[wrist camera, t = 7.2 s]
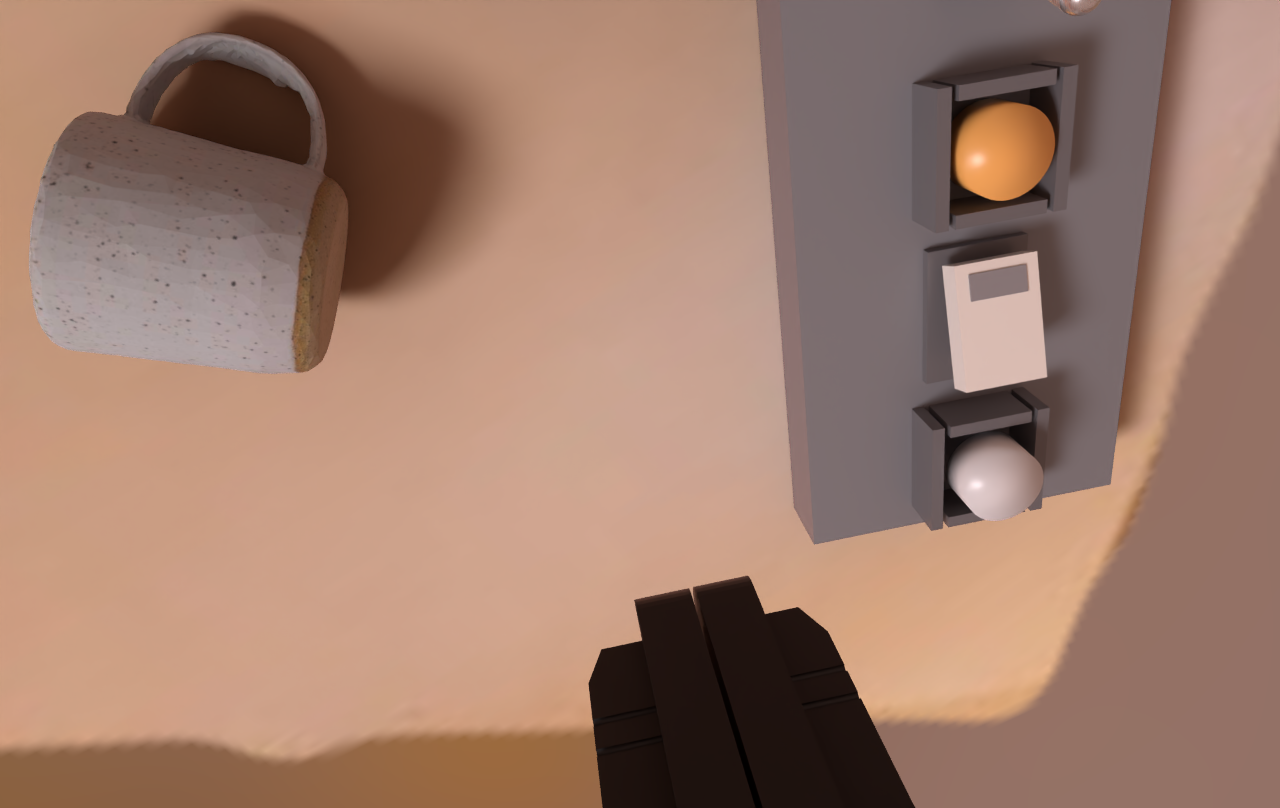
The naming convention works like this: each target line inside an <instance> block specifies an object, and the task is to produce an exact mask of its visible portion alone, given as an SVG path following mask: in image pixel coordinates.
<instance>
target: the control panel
mask: <svg viewBox="0 0 1280 808" xmlns="http://www.w3.org/2000/svg"><path fill="white" fill-rule="evenodd" d="M1170 8H1171V0H1101V2H1100V3H1099V5H1098V6H1097V7H1096V8H1095V9H1094V10H1092V11H1091V12H1089V13H1087V14H1085V15H1082V16H1071V15H1068V14H1066V13H1064V12H1063V11H1061V10H1060V9H1059V8H1058V7H1056V6H1055V5H1054V4H1052V3H1051V2H1050V1H1048V0H757V13H758V26H759V40H760V53H761V66H762V80H763V93H764V107H765V120H766V134H767V147H768V161H769V174H770V188H771V201H772V214H773V228H774V241H775V255H776V268H777V282H778V295H779V309H780V322H781V336H782V349H783V362H784V376H785V389H786V403H787V416H788V430H789V443H790V457H791V470H792V484H793V497H794V509H795V510H796V512H797V514H798V516H799V518H800V520H801V521H802V523H803V525H804V527H805V529H806V531H807V532H808V534H809V536H810V538H811V540H812V542H813V543H814V544H819V543H824V542H829V541H834V540H839V539H843V538H848V537H853V536H858V535H863V534H868V533H873V532H878V531H883V530H888V529H893V528H898V527H903V526H907V525H912V524H917V523H922V522H925V523H926V524H927V526H928V527H929V528H930V530H931V531H933V530H938V529H942V528H943V521H944V523H945V524H946V525H947V526H948V527H952V526H957V525H962V524H967V523H972V522H977V521H982V520H985V519H982V518H980V517H978V516H977V515H975V514H974V513H973V512H972V511H971V509H970V508H969V507H968V506H967V505H966V504H965V503H964V502H963V500H962V499H961V498H960V497H959V496H958V495H957V494H956V493H955V491H954V490H953V489H952V488H951V487H950V485H949V483H948V480H947V474H946V471H947V465H948V462H949V459H950V457H951V455H952V454H953V452H954V451H955V450H956V448H957V447H958V446H959V445H960V444H961V443H963V442H964V441H965V440H967V439H968V438H970V437H972V436H974V435H976V434H978V433H982V432H987V431H998V432H1002V433H1005V434H1007V435H1009V436H1010V437H1012V438H1013V439H1014V440H1015V441H1016V442H1017V443H1018V444H1019V445H1020V446H1022V447H1023V448H1024V449H1025V450H1026V451H1027V452H1028V453H1029V454H1031V455H1032V456H1033V457H1034V458H1035V459H1036V460H1037V461H1038V462H1039V463H1040V465H1041V467H1042V470H1043V485H1042V488H1041V491H1040V493H1039V495H1038V496H1037V498H1036V499H1035V501H1034V502H1033V503H1032V504H1031V505H1030V506H1029V507H1028V509H1029V510H1030V511H1031V510H1036V509H1041V507H1042V498H1045V497H1050V496H1055V495H1060V494H1065V493H1070V492H1075V491H1080V490H1085V489H1090V488H1095V487H1100V486H1104V485H1109V484H1110V483H1111V476H1112V468H1113V460H1114V452H1115V444H1116V436H1117V428H1118V420H1119V412H1120V404H1121V396H1122V388H1123V380H1124V372H1125V365H1126V357H1127V349H1128V341H1129V333H1130V325H1131V317H1132V309H1133V301H1134V293H1135V285H1136V277H1137V269H1138V261H1139V254H1140V246H1141V238H1142V230H1143V222H1144V214H1145V206H1146V198H1147V190H1148V182H1149V174H1150V166H1151V158H1152V150H1153V143H1154V135H1155V127H1156V119H1157V111H1158V103H1159V95H1160V87H1161V79H1162V71H1163V63H1164V55H1165V47H1166V39H1167V32H1168V24H1169V16H1170ZM989 98H997V99H1002V100H1007V101H1011V102H1016V103H1020V104H1025V105H1029V106H1032V107H1035V108H1037V109H1039V110H1040V111H1041V112H1043V113H1044V114H1045V115H1046V116H1047V118H1048V119H1049V121H1050V122H1051V125H1052V127H1053V131H1054V136H1055V148H1054V154H1053V158H1052V161H1051V163H1050V166H1049V168H1048V170H1047V171H1046V173H1045V175H1044V176H1043V177H1042V179H1041V180H1040V181H1039V182H1038V183H1037V184H1036V185H1035V186H1034V187H1033V188H1032V189H1031V190H1029V191H1028V192H1026V193H1025V194H1023V195H1021V196H1019V197H1017V198H1014V199H1010V200H1004V201H996V200H991V199H988V198H985V197H983V196H980V195H978V194H976V193H973V192H971V191H969V190H966V189H964V188H962V187H960V186H958V185H956V184H955V183H954V182H953V181H952V180H951V179H950V159H951V122H952V121H953V120H954V118H955V117H956V116H957V115H958V114H959V113H960V112H961V111H962V110H963V109H965V108H966V107H967V106H969V105H971V104H973V103H974V102H977V101H979V100H983V99H989ZM1019 251H1037V256H1038V268H1039V281H1040V293H1041V306H1042V318H1043V331H1044V343H1045V356H1046V368H1047V377H1045V378H1040V379H1035V380H1030V381H1025V382H1020V383H1015V384H1009V385H1004V386H999V387H994V388H989V389H984V390H979V391H974V392H968V393H966V392H963V391H960V390H958V389H955V387H954V378H953V368H952V358H951V348H950V338H949V329H948V319H947V309H946V299H945V290H944V280H943V270H942V266H944V265H949V264H954V263H960V262H965V261H971V260H976V259H981V258H987V257H992V256H997V255H1003V254H1008V253H1014V252H1019ZM1023 512H1025V510H1024V511H1023Z"/></svg>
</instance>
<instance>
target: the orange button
mask: <svg viewBox="0 0 1280 808" xmlns="http://www.w3.org/2000/svg"><path fill="white" fill-rule="evenodd" d="M1054 148H1055V136H1054V131H1053V127H1052V125H1051V122H1050V121H1049V119H1048V118H1047V116H1046V115H1045V114H1044V113H1043V112H1041V111H1040V110H1039V109H1037V108H1035V107H1032V106H1029V105H1025V104H1020V103H1016V102H1011V101H1007V100H1002V99H997V98H989V99H983V100H979V101H977V102H974V103H973V104H971V105H969V106H967V107H966V108H965V109H963V110H962V111H961V112H960V113H959V114H958V115H957V116H956V117H955V118H954V120H953V121H952V122H951V159H950V179H951V180H952V181H953V182H954V183H955V184H956V185H958V186H960V187H962V188H964V189H966V190H969V191H971V192H973V193H976V194H978V195H980V196H983V197H985V198H988V199H991V200H996V201H1004V200H1010V199H1014V198H1017V197H1019V196H1021V195H1023V194H1025V193H1026V192H1028V191H1029V190H1031V189H1032V188H1033V187H1034V186H1035V185H1036V184H1037V183H1038V182H1039V181H1040V180H1041V179H1042V177H1043V176H1044V175H1045V173H1046V171H1047V170H1048V168H1049V166H1050V163H1051V161H1052V158H1053V154H1054Z"/></svg>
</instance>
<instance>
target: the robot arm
mask: <svg viewBox="0 0 1280 808" xmlns="http://www.w3.org/2000/svg"><path fill="white" fill-rule="evenodd" d="M693 596H694V602H693V598H692V595H691V592H690V590H689V588H688V589H683V590H678V591H674V592H669V593H664V594H659V595H655V596H650V597H645V598H641V599H636V600H634V601H635V606H636V611H637V616H638V622H639V627H640V632H641V637H642V641H639V642H634V643H630V644H625V645H620V646H616V647H611V648H606V649H602V650H601V652H600V655H599V657H598V660H597V663H596V665H595V668H594V671H593V673H592V676H591V679H590V681H589V692H590V701H591V709H592V718H593V724H594V736H595V744H596V751H597V762H598V770H599V779H600V788H601V797H602V805H603V808H915V806H914V805H913V803H912V801H911V799H910V797H909V795H908V793H907V791H906V789H905V787H904V785H903V783H902V781H901V779H900V777H899V774H898V772H897V771H896V768H895V767H894V765H893V763H892V760H891V758H890V756H889V754H888V752H887V750H886V748H885V746H884V744H883V742H882V740H881V738H880V736H879V734H878V732H877V730H876V728H875V726H874V724H873V722H872V720H871V718H870V716H869V714H868V712H867V710H866V708H865V706H864V704H863V702H862V700H861V699H859V696H858V692H857V689H856V687H855V685H854V683H853V681H852V679H851V677H850V675H849V673H848V671H846V670H845V667H844V663H843V661H842V659H841V657H840V655H839V653H838V651H837V649H836V647H835V645H834V643H833V641H832V639H831V637H830V635H829V633H828V631H827V630H825V629H824V628H823V627H822V626H820V625H819V624H818V623H817V622H816V621H814V620H813V619H812V618H811V617H810V616H808V615H807V614H806V613H805V612H803V611H802V610H801V609H800V608H799V607H796V608H792V609H787V610H782V611H778V612H773V613H768V614H765V613H764V611H763V608H762V606H761V603H760V601H759V598H758V596H757V593H756V591H755V588H754V586H753V584H752V581H751V579H750V578H749V576H743V577H739V578H734V579H729V580H725V581H720V582H715V583H710V584H706V585H701V586H696V587H693ZM694 603H695V605H694Z"/></svg>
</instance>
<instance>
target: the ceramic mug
mask: <svg viewBox="0 0 1280 808" xmlns="http://www.w3.org/2000/svg"><path fill="white" fill-rule="evenodd" d="M203 60H212V61H214V60H223V61H226V62H228V63H231V64H234V65H237V66H240V67H243V68H246V69H249V70H252V71H255V72H257V73H259V74H261V75H264V76H266V77H268V78H270V79H271V80H272V82H273V83H274V84H275V85H276V86H280V87H287V86H289V87H290V88H292V89H293V90H295V91H298V92H299V93H300V95H301V96H302V98H303V100H304V103H305V105H306V108H307V111H308V113H309V115H310V117H311V121H310V123H311V146H310V150H309V159H308V161H307V163H306V164H304V165H301V164H297V163H294V162H290V161H286V160H283V159H279V158H275V157H271V156H267V155H262V154H258V153H253V152H250V151H245V150H240V149H236V148H232V147H229V146H225V145H222V144H218V143H215V142H211V141H209V140H206V139H202V138H198V137H194V136H191V135H187V134H184V133H181V132H177V131H172V130H168V129H166V128H163V127H159V126H153V125H150V120H151V118H152V115H153V113H154V110H155V107H156V105H157V103H158V101H159V100H160V98H161V96H162V94H163V93H164V91H165V90H166V89H167V87H168V86H169V85H170V84H171V82H172V81H173V80H174V78H175V77H176V76H177V75H179V74H180V73H181V72H182V71H183V70H185V69H186V68H188V66H190V65H193V64H194V63H197V62H199V61H203ZM326 158H327V141H326V127H325V119H324V115H323V112H322V108H321V105H320V101H319V99H318V97H317V95H316V93H315V91H314V89H313V87H312V86H311V84H310V83H309V81H308V80H307V78H306V77H305V75H304V74H303V73H302V72H301V71H300V70H299V69H298V68H297V67H296V66H295V65H294V64H293V63H292V62H291V61H290V60H289V59H288V58H287V57H285V56H283V55H281V54H279V53H278V52H277V51H276V50H274V49H272V48H270V47H268V46H266V45H264V44H261V43H259V42H256V41H254V40H251V39H248V38H245V37H242V36H239V35H232V34H224V33H216V32H210V33H203V34H198V35H194V36H191V37H189V38H186V39H184V40H182V41H180V42H178V43H177V44H175V45H173V46H172V47H170V48H168V49H166V50H165V51H164V52H163V53H162V54H161V55H160V56H158V57H157V58H156V59H155V60H154V61H153V63H152V64H151V65H150V67H149V68H148V69H147V70H146V72H145V73H144V74H143V76H142V77H141V79H140V81H139V82H138V84H137V86H136V88H135V90H134V92H133V94H132V96H131V99H130V102H129V104H128V106H127V109H126V113H125V114H124V115H119V116H116V115H111V114H106V113H102V112H87V113H84V114H82V115H80V116H79V117H77V118H75V119H74V120H73V121H72V122H71V123H70V124H69V125H68V126H67V127H66V129H65V130H64V131H63V133H62V134H61V136H60V138H59V139H58V141H57V142H56V143H55V145H54V148H53V150H52V152H51V154H50V156H49V158H48V161H47V163H46V166H45V168H44V171H43V175H42V177H41V181H40V187H39V192H38V196H37V199H36V202H35V205H34V211H33V218H32V224H31V230H30V251H29V272H30V280H31V287H32V294H33V304H34V308H35V311H36V315H37V319H38V322H39V323H40V325H41V327H42V330H43V331H44V332H45V334H46V335H47V336H48V337H49V338H50V340H51V341H52V342H54V343H55V344H57V345H58V346H60V347H63V348H65V349H68V350H73V351H81V352H90V353H99V354H108V355H119V356H124V357H132V358H142V359H149V360H158V361H167V362H175V363H182V364H193V365H201V366H209V367H218V368H226V369H233V370H240V371H247V372H256V373H268V374H277V373H301V372H306V371H309V370H310V369H312V368H314V367H315V366H316V365H318V364H319V363H320V362H321V361H322V360H323V358H324V356H325V354H326V351H327V349H328V346H329V342H330V339H331V335H332V330H333V326H334V321H335V316H336V311H337V306H338V300H339V295H340V289H341V283H342V277H343V270H344V262H345V253H346V243H347V232H348V201H347V198H346V196H345V193H344V191H343V190H342V188H341V187H340V186H339V185H338V183H337V182H336V181H335V180H333V179H331V178H330V177H328V176H326V175H324V172H323V170H324V165H325V160H326Z"/></svg>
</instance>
